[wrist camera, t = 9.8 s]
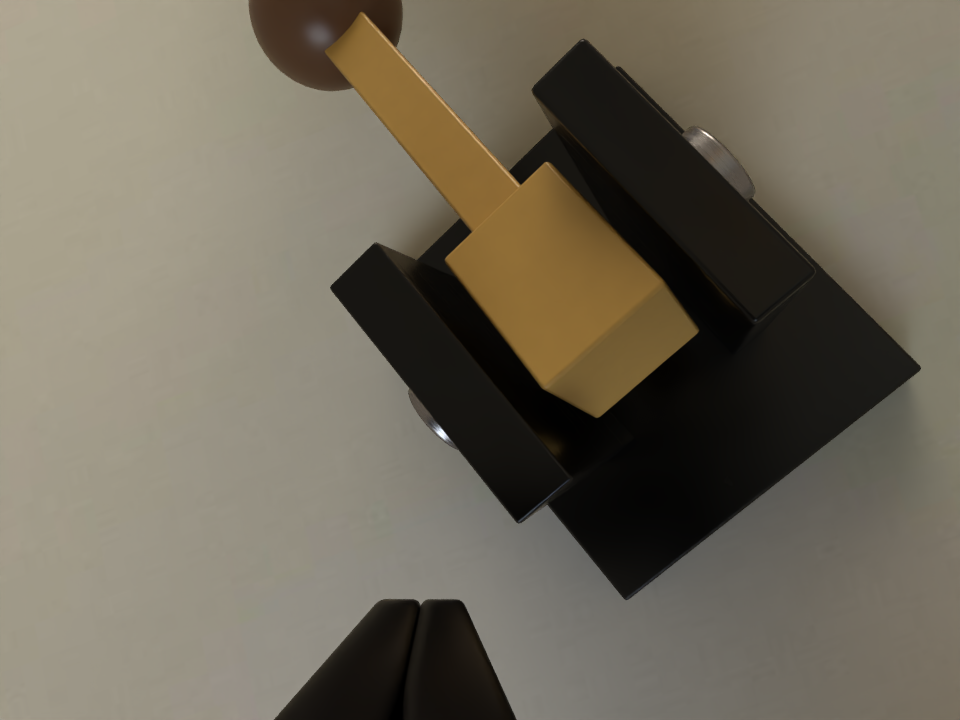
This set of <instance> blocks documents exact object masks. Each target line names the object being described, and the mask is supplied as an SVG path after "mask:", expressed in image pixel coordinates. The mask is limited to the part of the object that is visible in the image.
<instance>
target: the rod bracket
mask: <svg viewBox="0 0 960 720" xmlns="http://www.w3.org/2000/svg"><path fill="white" fill-rule="evenodd" d="M532 93H533V95H534V97H535V99H536V100H537V102H538V104H539V105H540V107H541V109H542V110H543V112H544V114H545V115H546V117H547V119H548V120H549V122H550V124H551V125H552V127H553V129H552V130H551V131H550V132H549V133H548V134H547V135H546V136H545V137H543V138H542V139H541V140H540V141H539V142H538V143H537V144H536V145H535V146H534V147H533V148H532V149H531V150H530V151H529V152H528V153H527V154H526V155H525V156H524V157H523V158H522V159H521V160H520V161H519V162H518V163H517V164H516V165H515V166H514V167H513V168H512V169H510V170H509V172H510V174H511V175H512V176H513V177H514V178H515V179H516V180H517V181H518V182H519V183H520V185H522V184H523V183H524V182H525V181H526V180H527V179H528V178H529V177H530V176H531V175H532V174H533V173H534V172H535V171H536V170H537V169H539V168H540V167H541V166H542V165H543V164H544V163H545V162H549V163H552V164H553V165H554V166H555V168H556V169H557V170H558V171H559V172H560V173H561V174H562V175H563V176H564V177H565V178H566V179H567V180H568V181H569V182H570V183H571V184H572V185H573V186H574V187H575V188H576V189H577V190H578V191H579V192H580V194H581V195H582V196H583V197H584V198H585V199H586V200H587V201H588V202H589V203H590V204H591V205H592V206H593V207H594V208H595V209H596V210H597V211H598V212H599V213H600V214H601V215H602V216H603V217H604V218H605V219H606V221H607V222H608V223H609V224H610V225H611V226H612V227H613V228H614V229H615V230H616V231H617V232H618V233H619V234H620V235H621V236H622V237H623V238H624V239H625V240H626V241H627V242H628V243H629V244H630V245H631V246H632V248H633V249H634V250H635V251H636V252H637V253H638V254H639V255H640V256H641V257H642V258H643V259H644V260H645V261H646V262H647V263H648V264H649V265H650V266H651V267H652V268H653V269H654V270H655V271H656V272H657V274H658V275H659V276H660V277H661V278H662V279H663V280H664V281H665V282H666V284H667V285H668V286H669V288H670V289H671V290H672V292H673V293H674V295H675V296H676V297H677V299H678V300H679V302H680V303H681V304H682V306H683V307H684V308H685V310H686V311H687V313H688V314H689V315H690V317H691V318H692V319H693V321H694V322H695V324H696V325H697V326H698V329H699V331H698V333H697V334H696V335H695V336H694V337H693V338H691V339H690V340H689V341H688V342H687V343H686V344H684V345H683V346H682V347H681V348H680V349H679V350H677V351H676V352H675V353H674V354H673V355H672V356H670V357H669V358H668V359H667V360H666V361H665V362H663V363H662V364H661V365H660V366H659V367H657V368H656V369H655V370H654V371H653V372H652V373H650V374H649V375H648V376H647V377H646V378H645V379H643V380H642V381H641V382H640V383H639V384H638V385H636V386H635V387H634V388H633V389H632V390H631V391H629V392H628V393H627V394H626V395H625V396H624V397H622V398H621V399H620V400H619V401H618V402H617V403H615V404H614V405H613V406H612V407H611V408H610V409H608V410H607V411H606V412H605V413H604V414H603V415H601V416H600V417H598V418H595V417H594V416H592V415H590V414H588V413H586V412H584V411H582V410H581V409H579V408H577V407H575V406H573V405H571V404H570V403H568V402H566V401H564V400H562V399H560V398H558V397H557V396H555V395H553V394H551V393H549V392H547V391H545V390H544V389H542V388H541V387H540V385H539V384H538V383H537V382H536V380H535V379H534V378H533V376H532V375H531V374H530V372H529V371H528V370H527V369H526V367H525V366H524V365H523V363H522V362H521V361H520V359H519V358H518V357H517V356H516V354H515V353H514V352H513V350H512V349H511V348H510V346H509V345H508V344H507V343H506V341H505V340H504V339H503V337H502V336H501V335H500V333H499V332H498V331H497V330H496V328H495V327H494V326H493V324H492V323H491V322H490V321H489V319H488V318H487V317H486V315H485V314H484V313H483V311H482V310H481V309H480V308H479V306H478V305H477V304H476V302H475V301H474V300H473V298H472V297H471V296H470V295H469V293H468V292H467V291H466V289H465V288H464V287H463V285H462V284H461V283H460V282H459V280H458V279H457V278H456V276H455V275H454V274H453V273H452V271H451V270H450V269H449V267H448V266H447V265H446V262H445V258H446V257H447V256H448V255H449V254H450V253H451V252H452V251H453V250H454V249H455V248H456V247H457V246H458V245H459V244H460V243H462V242H463V241H464V240H465V239H466V238H467V237H468V236H469V235H470V234H471V233H472V232H471V230H470V229H469V228H468V227H467V225H466V224H465V223H464V222H463V221H462V219H461V218H460V219H459V220H458V221H457V222H456V223H455V224H454V225H453V226H452V227H451V228H450V229H449V230H448V231H447V232H446V233H445V234H443V235H442V236H441V237H440V238H439V239H438V240H437V241H436V242H435V243H434V244H433V245H432V246H431V247H430V248H429V249H428V250H427V251H426V252H425V253H424V254H423V255H422V256H421V257H420V258H419V259H418V260H415V259H413V258H411V257H408V256H406V255H404V254H402V253H399V252H397V251H395V250H393V249H390V248H388V247H386V246H383V245H381V244H379V243H377V242H376V243H374V244H373V245H372V246H371V247H370V248H369V249H368V250H367V251H366V252H365V253H364V254H363V255H362V256H361V257H360V258H358V259H357V260H356V261H355V262H354V263H353V264H352V265H351V266H350V267H349V268H348V269H347V270H346V271H345V272H344V273H343V274H342V275H341V276H340V277H339V278H338V279H337V280H336V281H335V282H334V283H333V284H332V285H331V287H330V289H331V291H332V292H333V293H334V294H335V296H336V297H337V298H338V299H339V301H340V302H341V303H342V304H343V306H344V307H345V308H346V309H347V311H348V312H349V313H350V314H351V316H352V317H353V318H354V319H355V321H356V322H357V323H358V324H359V326H360V327H361V328H362V329H363V331H364V332H365V333H366V334H367V336H368V337H369V338H370V339H371V341H372V342H373V343H374V345H375V346H376V347H377V348H378V350H379V351H380V352H381V353H382V355H383V356H384V357H385V358H386V360H387V361H388V362H389V363H390V365H391V366H392V367H393V368H394V370H395V371H396V372H397V373H398V375H399V376H400V377H401V378H402V380H403V381H404V382H405V383H406V385H407V386H408V387H409V391H408V394H409V398H410V400H411V403H412V405H413V406H414V408H415V410H416V412H417V413H418V415H419V416H420V417H421V419H422V420H423V421H424V423H425V424H426V425H427V426H428V427H429V428H430V429H431V430H432V431H433V432H434V433H435V434H436V435H437V436H438V437H439V438H440V439H441V440H443V441H444V442H445V443H447V444H448V445H449V446H451V447H453V448H455V449H457V450H459V451H460V452H461V454H462V455H463V456H464V457H465V459H466V460H467V461H468V462H469V464H470V465H471V466H472V467H473V469H474V470H475V471H476V472H477V474H478V475H479V476H480V477H481V479H482V480H483V481H484V482H485V484H486V485H487V486H488V487H489V489H490V490H491V491H492V492H493V494H494V495H495V496H496V497H497V499H498V500H499V501H500V503H501V504H502V505H503V506H504V508H505V509H506V510H507V511H508V513H509V514H510V515H511V516H512V518H513V519H514V520H515V521H516V522H517V523H522V522H523V521H525V520H526V519H528V518H529V517H530V516H532V515H533V514H535V513H536V512H537V511H539V510H540V509H542V508H543V507H544V506H546V505H548V506H549V507H550V509H551V510H552V511H553V512H554V513H555V515H556V516H557V517H558V518H559V520H560V521H561V522H562V523H563V524H564V526H565V527H566V528H567V529H568V531H569V532H570V533H571V534H572V536H573V537H574V538H575V539H576V540H577V542H578V543H579V544H580V545H581V547H582V548H583V549H584V550H585V552H586V553H587V554H588V555H589V556H590V558H591V559H592V560H593V561H594V563H595V564H596V565H597V566H598V567H599V569H600V570H601V571H602V572H603V574H604V575H605V576H606V577H607V579H608V580H609V581H610V582H611V583H612V585H613V586H614V587H615V588H616V590H617V591H618V592H619V593H620V595H621V596H622V597H623V598H624V599H625V600H629V599H630V598H631V597H632V596H634V595H635V594H636V593H637V592H639V591H640V590H641V589H643V588H644V587H645V586H646V585H648V584H649V583H650V582H651V581H653V580H654V579H655V578H657V577H658V576H659V575H660V574H662V573H663V572H664V571H665V570H667V569H668V568H669V567H671V566H672V565H673V564H674V563H676V562H677V561H678V560H679V559H681V558H682V557H683V556H685V555H686V554H687V553H688V552H690V551H691V550H692V549H694V548H695V547H696V546H697V545H699V544H700V543H701V542H702V541H704V540H705V539H706V538H708V537H709V536H710V535H711V534H713V533H714V532H715V531H716V530H718V529H719V528H720V527H722V526H723V525H724V524H725V523H727V522H728V521H729V520H730V519H732V518H733V517H734V516H736V515H737V514H738V513H739V512H741V511H742V510H743V509H744V508H746V507H747V506H748V505H750V504H751V503H752V502H753V501H755V500H756V499H757V498H758V497H760V496H761V495H762V494H764V493H765V492H766V491H767V490H769V489H770V488H771V487H772V486H774V485H775V484H776V483H778V482H779V481H780V480H781V479H783V478H784V477H785V476H786V475H788V474H789V473H790V472H792V471H793V470H794V469H795V468H797V467H798V466H799V465H800V464H802V463H803V462H804V461H806V460H807V459H808V458H809V457H811V456H812V455H813V454H814V453H816V452H817V451H818V450H820V449H821V448H822V447H823V446H825V445H826V444H827V443H828V442H830V441H831V440H832V439H834V438H835V437H836V436H837V435H839V434H840V433H841V432H842V431H844V430H845V429H846V428H848V427H849V426H850V425H851V424H853V423H854V422H855V421H856V420H858V419H859V418H860V417H862V416H863V415H864V414H865V413H867V412H868V411H869V410H870V409H872V408H873V407H874V406H876V405H877V404H878V403H879V402H881V401H882V400H883V399H884V398H886V397H887V396H888V395H890V394H891V393H892V392H893V391H895V390H896V389H897V388H898V387H900V386H901V385H902V384H904V383H905V382H906V381H907V380H909V379H910V378H911V377H912V376H914V375H915V374H916V373H918V372H919V371H920V369H921V367H920V365H919V364H918V363H917V362H916V361H915V360H914V359H913V358H912V357H911V356H910V355H909V354H908V353H907V352H906V351H905V350H904V349H903V348H902V347H901V346H900V345H899V344H898V343H897V342H896V341H895V340H894V339H893V338H892V337H891V336H889V335H888V334H887V333H886V332H885V331H884V330H883V329H882V328H881V327H880V326H879V325H878V324H877V323H876V322H875V321H874V320H873V319H872V318H871V317H870V316H869V315H868V314H867V313H866V312H865V311H864V310H863V309H862V308H861V307H860V306H859V305H858V304H857V303H856V302H855V301H854V300H853V299H852V298H851V297H850V296H849V295H848V294H847V293H846V292H845V291H844V290H843V289H842V288H841V287H840V286H839V285H838V284H837V283H836V282H835V281H834V280H833V279H832V278H831V277H830V276H829V275H828V274H827V273H826V272H825V271H824V270H823V269H822V268H821V267H820V266H819V265H818V264H817V263H816V262H815V261H814V260H813V259H812V258H811V257H810V256H809V255H808V254H807V253H806V252H805V251H804V250H803V249H802V248H801V247H800V246H799V245H798V244H797V243H796V242H795V241H794V240H793V239H792V238H791V237H790V236H789V235H788V234H787V233H786V232H785V231H784V230H783V229H782V228H781V227H780V226H779V225H778V224H777V223H776V222H775V221H774V220H773V219H772V218H771V217H770V216H769V215H768V214H767V213H766V212H765V211H764V210H763V209H762V208H761V207H760V206H759V205H758V204H757V203H756V202H755V201H754V200H753V199H752V197H753V196H754V194H755V188H754V185H753V183H752V181H751V179H750V177H749V175H748V174H747V172H746V171H745V169H744V168H743V167H742V165H741V164H740V163H739V162H738V160H737V159H736V158H735V157H734V156H733V155H732V154H731V153H730V151H729V150H728V149H727V148H726V147H725V146H724V145H723V144H722V143H721V142H719V141H718V140H717V139H716V138H715V137H714V136H712V135H711V134H710V133H708V132H707V131H705V130H704V129H702V128H700V127H697V126H692V127H690V128H688V129H687V130H686V131H684V130H683V129H682V128H681V127H680V126H679V125H678V124H677V123H676V122H675V121H674V120H673V119H672V118H671V117H670V116H669V115H668V114H667V113H666V112H665V111H664V110H663V109H662V108H661V107H660V106H659V105H658V104H657V103H656V102H655V101H654V100H653V99H652V98H651V97H650V96H649V95H648V94H647V93H646V92H645V91H644V90H643V89H642V88H641V87H640V86H639V85H638V84H637V83H636V82H635V81H634V80H633V79H632V78H631V77H630V76H629V75H628V74H627V73H626V72H625V71H624V70H623V69H622V68H621V67H619V66H617V67H616V68H615V67H614V66H613V65H612V64H611V63H610V62H609V61H608V60H607V59H606V58H605V57H604V56H603V55H602V54H601V53H600V52H599V51H598V50H597V49H596V48H595V47H594V46H593V45H592V44H591V43H590V42H589V41H588V40H585V39H581V40H580V41H579V42H578V43H577V44H576V45H575V46H574V47H573V48H572V49H571V50H569V51H568V52H567V53H566V54H565V55H564V56H563V57H562V58H561V59H560V60H559V61H558V62H557V63H556V64H555V65H554V66H553V67H552V68H551V69H550V70H549V71H548V72H547V73H546V74H545V75H544V76H543V77H542V78H541V79H540V80H539V81H538V82H537V83H536V84H535V85H534V86H533V88H532Z"/></svg>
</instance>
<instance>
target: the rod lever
mask: <svg viewBox="0 0 960 720" xmlns="http://www.w3.org/2000/svg"><path fill="white" fill-rule="evenodd" d="M249 14H250V18H251V23H252V27H253V30H254V33H255V35H256V38H257V41H258V42H259V44H260V46H261V48H262V49H263V51H264V53H265V54H266V56H267V57H268V58H269V59H270V61H271V62H272V63H273V64H274V65H275V66H276V67H277V68H278V69H279V70H280V71H281V72H282V73H284V74H285V75H287V76H288V77H289V78H291V79H292V80H294V81H296V82H298V83H300V84H302V85H304V86H307V87H310V88H313V89H317V90H324V91H340V90H347V89H351V88H354V89H355V90H356V91H357V93H358V94H359V95H360V96H361V97H362V99H363V100H364V101H365V102H366V104H367V105H368V106H369V107H370V108H371V110H372V111H373V112H374V113H375V115H376V116H377V117H378V118H379V119H380V121H381V122H382V123H383V124H384V125H385V127H386V128H387V129H388V130H389V132H390V133H391V134H392V135H393V136H394V138H395V139H396V140H397V141H398V143H399V144H400V145H401V146H402V147H403V149H404V150H405V151H406V152H407V154H408V155H409V156H410V157H411V158H412V160H413V161H414V162H415V163H416V165H417V166H418V167H419V168H420V169H421V171H422V172H423V173H424V174H425V175H426V177H427V178H428V179H429V180H430V182H431V183H432V184H433V185H434V186H435V188H436V189H437V190H438V191H439V193H440V194H441V195H442V196H443V197H444V199H445V200H446V201H447V202H448V204H449V205H450V206H451V207H452V208H453V210H454V211H455V212H456V213H457V215H458V216H459V217H460V218H461V219H462V221H463V222H464V223H465V224H466V225H467V227H468V228H469V229H470V230H471V232H472V233H471V234H470V235H469V236H468V237H467V238H466V239H465V240H464V241H463V242H462V243H460V244H459V245H458V246H457V247H456V248H455V249H454V250H453V251H452V252H451V253H450V254H449V255H448V256H447V257H446V258H445V262H446V265H447V266H448V267H449V269H450V270H451V271H452V273H453V274H454V275H455V276H456V278H457V279H458V280H459V282H460V283H461V284H462V285H463V287H464V288H465V289H466V291H467V292H468V293H469V295H470V296H471V297H472V298H473V300H474V301H475V302H476V304H477V305H478V306H479V308H480V309H481V310H482V311H483V313H484V314H485V315H486V317H487V318H488V319H489V321H490V322H491V323H492V324H493V326H494V327H495V328H496V330H497V331H498V332H499V333H500V335H501V336H502V337H503V339H504V340H505V341H506V343H507V344H508V345H509V346H510V348H511V349H512V350H513V352H514V353H515V354H516V356H517V357H518V358H519V359H520V361H521V362H522V363H523V365H524V366H525V367H526V369H527V370H528V371H529V372H530V374H531V375H532V376H533V378H534V379H535V380H536V382H537V383H538V384H539V385H540V387H541V388H542V389H544V390H545V391H547V392H549V393H551V394H553V395H555V396H557V397H558V398H560V399H562V400H564V401H566V402H568V403H570V404H571V405H573V406H575V407H577V408H579V409H581V410H582V411H584V412H586V413H588V414H590V415H592V416H594V417H595V418H598V417H600V416H601V415H603V414H604V413H605V412H606V411H607V410H608V409H610V408H611V407H612V406H613V405H614V404H615V403H617V402H618V401H619V400H620V399H621V398H622V397H624V396H625V395H626V394H627V393H628V392H629V391H631V390H632V389H633V388H634V387H635V386H636V385H638V384H639V383H640V382H641V381H642V380H643V379H645V378H646V377H647V376H648V375H649V374H650V373H652V372H653V371H654V370H655V369H656V368H657V367H659V366H660V365H661V364H662V363H663V362H665V361H666V360H667V359H668V358H669V357H670V356H672V355H673V354H674V353H675V352H676V351H677V350H679V349H680V348H681V347H682V346H683V345H684V344H686V343H687V342H688V341H689V340H690V339H691V338H693V337H694V336H695V335H696V334H697V333H698V331H699V329H698V326H697V325H696V324H695V322H694V321H693V319H692V318H691V317H690V315H689V314H688V313H687V311H686V310H685V308H684V307H683V306H682V304H681V303H680V302H679V300H678V299H677V297H676V296H675V295H674V293H673V292H672V290H671V289H670V288H669V286H668V285H667V284H666V282H665V281H664V280H663V279H662V278H661V277H660V276H659V275H658V274H657V272H656V271H655V270H654V269H653V268H652V267H651V266H650V265H649V264H648V263H647V262H646V261H645V260H644V259H643V258H642V257H641V256H640V255H639V254H638V253H637V252H636V251H635V250H634V249H633V248H632V246H631V245H630V244H629V243H628V242H627V241H626V240H625V239H624V238H623V237H622V236H621V235H620V234H619V233H618V232H617V231H616V230H615V229H614V228H613V227H612V226H611V225H610V224H609V223H608V222H607V221H606V219H605V218H604V217H603V216H602V215H601V214H600V213H599V212H598V211H597V210H596V209H595V208H594V207H593V206H592V205H591V204H590V203H589V202H588V201H587V200H586V199H585V198H584V197H583V196H582V195H581V194H580V192H579V191H578V190H577V189H576V188H575V187H574V186H573V185H572V184H571V183H570V182H569V181H568V180H567V179H566V178H565V177H564V176H563V175H562V174H561V173H560V172H559V171H558V170H557V169H556V168H555V166H554V165H553V164H552V163H549V162H545V163H544V164H543V165H542V166H541V167H540V168H539V169H537V170H536V171H535V172H534V173H533V174H532V175H531V176H530V177H529V178H528V179H527V180H526V181H525V182H524V183H523V184H522V185H520V183H519V182H518V181H517V180H516V179H515V178H514V177H513V176H512V175H511V174H510V172H509V171H508V170H507V169H506V168H505V167H504V166H503V165H502V164H501V163H500V161H499V160H498V159H497V158H496V157H495V156H494V155H493V154H492V153H491V152H490V150H489V149H488V148H487V147H486V146H485V145H484V144H483V143H482V142H481V141H480V139H479V138H478V137H477V136H476V135H475V134H474V133H473V132H472V131H471V130H470V128H469V127H468V126H467V125H466V124H465V123H464V122H463V121H462V120H461V119H460V117H459V116H458V115H457V114H456V113H455V112H454V111H453V110H452V109H451V108H450V106H449V105H448V104H447V103H446V102H445V101H444V100H443V99H442V98H441V97H440V96H439V94H438V93H437V92H436V91H435V90H434V89H433V88H432V87H431V86H430V85H429V83H428V82H427V81H426V80H425V79H424V78H423V77H422V76H421V75H420V74H419V72H418V71H417V70H416V69H415V68H414V67H413V66H412V65H411V64H410V63H409V61H408V60H407V59H406V58H405V57H404V56H403V55H402V54H401V53H400V52H399V50H398V49H397V48H396V47H397V44H398V42H399V38H400V34H401V30H402V20H403V8H402V1H401V0H249Z"/></svg>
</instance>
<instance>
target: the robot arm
mask: <svg viewBox="0 0 960 720" xmlns="http://www.w3.org/2000/svg"><path fill="white" fill-rule="evenodd" d="M274 720H516V717H515V715H514V713H513V711H512V708H511V706H510V704H509V702H508V700H507V697H506V695H505V693H504V691H503V689H502V686H501V684H500V682H499V680H498V677H497V675H496V673H495V671H494V669H493V666H492V664H491V662H490V660H489V658H488V655H487V653H486V651H485V649H484V646H483V644H482V642H481V640H480V638H479V635H478V633H477V631H476V629H475V627H474V624H473V622H472V620H471V618H470V615H469V613H468V611H467V609H466V607H465V605H464V604H463V602H462V601H460V600H457V599H428V600H425V601H424V602H423V603H422V605H420V603H419V602H418V601H417V600H414V599H384V600H381V601H379V602H377V603H376V604H375V605H374V607H373V608H372V609H371V610H370V611H369V612H368V613H367V614H366V616H365V617H364V618H363V619H362V620H361V621H360V622H359V624H358V625H357V626H356V627H355V628H354V629H353V630H352V632H351V633H350V634H349V635H348V636H347V637H346V638H345V639H344V641H343V642H342V643H341V644H340V645H339V646H338V647H337V649H336V650H335V651H334V652H333V653H332V654H331V655H330V657H329V658H328V659H327V660H326V661H325V662H324V663H323V664H322V666H321V667H320V668H319V669H318V670H317V671H316V672H315V674H314V675H313V676H312V677H311V678H310V679H309V680H308V682H307V683H306V684H305V685H304V686H303V687H302V688H301V690H300V691H299V692H298V693H297V694H296V695H295V696H294V697H293V699H292V700H291V701H290V702H289V703H288V704H287V705H286V707H285V708H284V709H283V710H282V711H281V712H280V713H279V715H278V716H277V717H276V718H275V719H274Z"/></svg>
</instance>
